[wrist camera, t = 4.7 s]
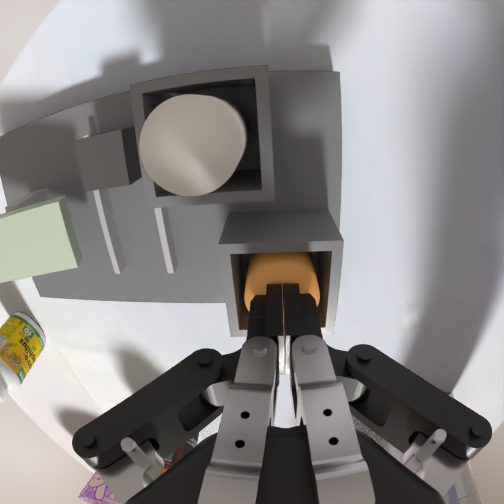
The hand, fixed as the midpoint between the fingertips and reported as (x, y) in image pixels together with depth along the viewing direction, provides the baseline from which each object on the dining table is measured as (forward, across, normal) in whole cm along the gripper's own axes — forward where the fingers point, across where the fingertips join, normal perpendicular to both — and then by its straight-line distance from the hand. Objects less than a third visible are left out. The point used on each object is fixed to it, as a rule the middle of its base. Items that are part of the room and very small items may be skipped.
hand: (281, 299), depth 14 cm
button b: (+2, +3, -8) cm, 8 cm away
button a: (+4, 0, 0) cm, 4 cm away
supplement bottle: (+6, +28, +10) cm, 30 cm away
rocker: (+1, +16, -4) cm, 16 cm away
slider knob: (+4, +8, -7) cm, 12 cm away
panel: (+6, +8, -4) cm, 11 cm away
